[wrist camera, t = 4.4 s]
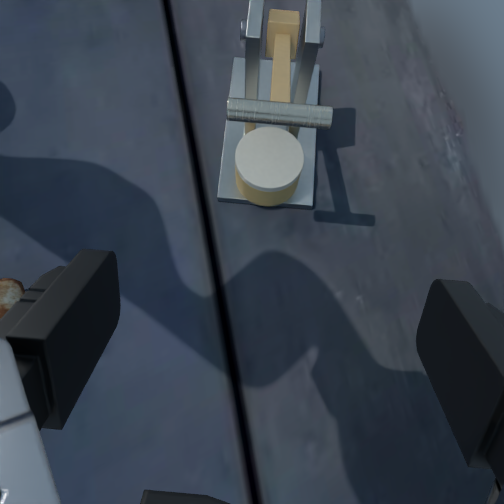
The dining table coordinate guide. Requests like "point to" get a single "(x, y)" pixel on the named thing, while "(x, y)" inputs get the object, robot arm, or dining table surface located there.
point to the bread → (9, 294)
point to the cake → (268, 165)
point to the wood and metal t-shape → (280, 83)
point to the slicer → (258, 87)
